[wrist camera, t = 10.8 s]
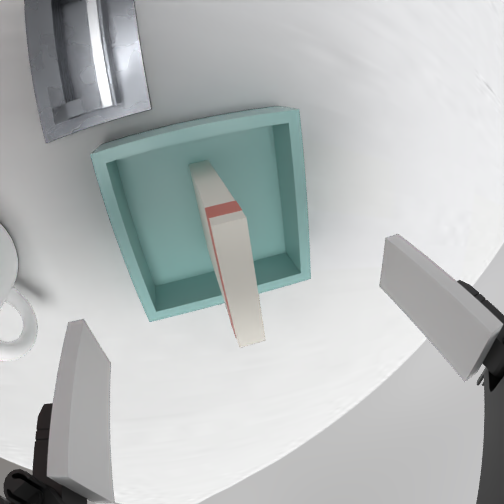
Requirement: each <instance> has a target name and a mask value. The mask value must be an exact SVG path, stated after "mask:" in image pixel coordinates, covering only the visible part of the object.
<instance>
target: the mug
mask: <svg viewBox="0 0 504 504" xmlns="http://www.w3.org/2000/svg"><path fill="white" fill-rule="evenodd" d="M17 273H18V258H17V252H16V249H15V246H14V243H13V241H12V239H11V237H10V235H9V234H8V232H7V231H6V229H5V228H4V227H3V226H2V225H1V224H0V310H1V308H2V306H3V304H4V302H7V303H8V304H10V305H11V306H12V307H14V308H15V309H16V310H17V311H18V313H19V314H20V315H21V317H22V320H23V331H22V333H21V335H20V336H19V338H18V339H16V340H14V341H12V342H4V341H1V340H0V360H1V361H13V360H17V359H19V358H21V357H23V356H25V355H26V354H27V353H28V352H29V351H30V350H31V348H32V347H33V345H34V343H35V341H36V337H37V329H38V325H37V319H36V315H35V313H34V310H33V308H32V306H31V305H30V303H29V302H28V300H27V299H26V298H25V297H24V296H23V295H22V294H21V293H20V292H19V291H18V290H16V289H15V288H14V287H13V285H14V283H15V280H16V277H17Z"/></svg>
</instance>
